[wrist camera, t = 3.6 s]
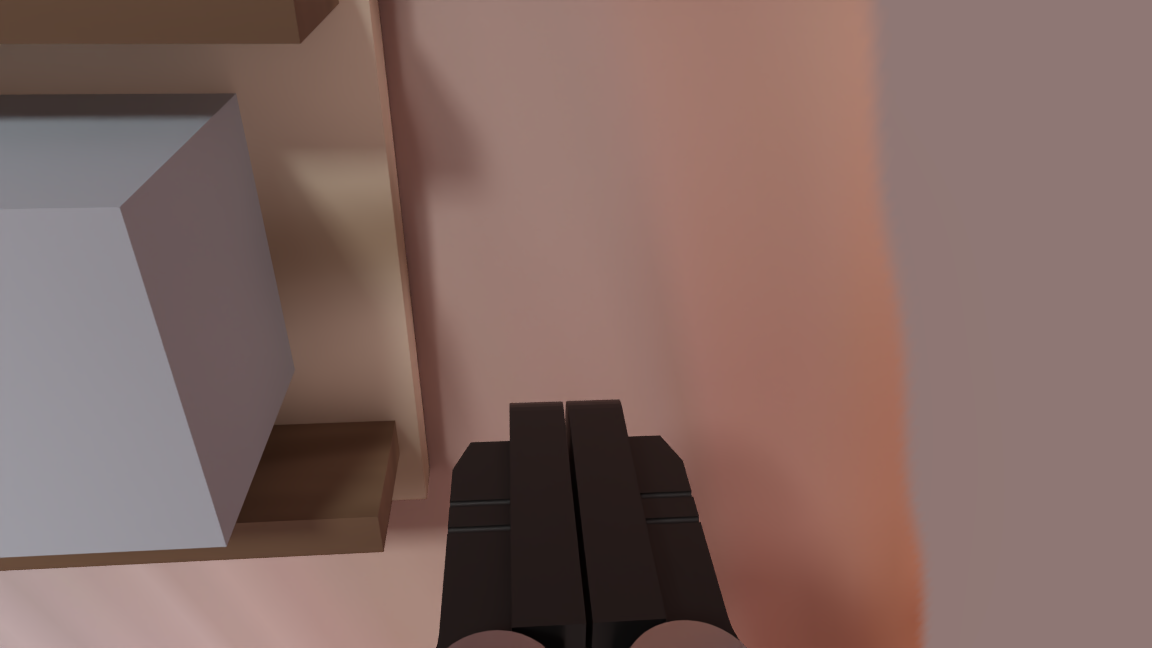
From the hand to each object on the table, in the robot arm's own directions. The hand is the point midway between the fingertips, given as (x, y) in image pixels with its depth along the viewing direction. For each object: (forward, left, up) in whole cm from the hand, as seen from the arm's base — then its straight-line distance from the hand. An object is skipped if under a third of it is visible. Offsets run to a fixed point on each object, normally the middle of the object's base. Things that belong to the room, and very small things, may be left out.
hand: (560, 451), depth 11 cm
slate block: (0, -8, -6) cm, 10 cm away
